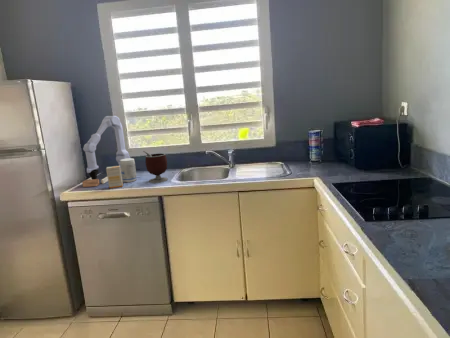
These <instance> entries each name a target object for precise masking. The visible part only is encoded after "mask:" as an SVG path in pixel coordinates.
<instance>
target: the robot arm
mask: <svg viewBox="0 0 450 338" xmlns="http://www.w3.org/2000/svg"><path fill="white" fill-rule="evenodd" d="M109 127H110V128H113V129H114V134H115V140H116V142H115V143H116V147H117V151H116V153H115V154H116V157H115V160H116V162H117V164H118V166H120V160H122V159H127V158H131V156H130V153H129V151H128V150H127V149H126V142H125V135H124V129H123V124H122V123H121V119H120V117H118V116H117V115H106V116H104V117H103V119H102V121H101V123H100V125H99V127H98V129H97V131H96V133H92V134H91V135H90V138H89V140H88V141H87V142H86V143H85V144H84V145H83V147H82V150H83V152H85V157H86V162H87V164H86V165H87V167H86V173H87V174H89V176H90V178H92V179H98V173H99V165H98V164H97V158H96V150H97V145H99V142H100V141H101V136H102V134H103V133H104V132H105V131H106V129H108V128H109ZM120 168H121V166H120Z"/></svg>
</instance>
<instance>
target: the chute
mask: <svg viewBox="0 0 450 338" xmlns="http://www.w3.org/2000/svg"><path fill="white" fill-rule="evenodd" d="M86 180H92V178H91V177H89V178H87V179H86ZM100 182H101V184H102V185H103V184H105V183H107V182H108V177H107V176H105V177H104V178H102V179H101V180H100Z"/></svg>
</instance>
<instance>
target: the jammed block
mask: <svg viewBox="0 0 450 338" xmlns="http://www.w3.org/2000/svg"><path fill="white" fill-rule="evenodd" d="M81 182H82V188H87V187H91V188H92V187H98V186H99V185H100V179H99V178H97V179H92V180H87V179H84V180H82V181H81Z"/></svg>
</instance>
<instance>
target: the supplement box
mask: <svg viewBox="0 0 450 338" xmlns="http://www.w3.org/2000/svg"><path fill="white" fill-rule="evenodd" d="M105 171H106V177H108V181H107V182H108V188H109V189H113V188H123V186H124V182H123V181H122V174H121V168H120V166H119V165H113V166H106V168H105Z"/></svg>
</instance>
